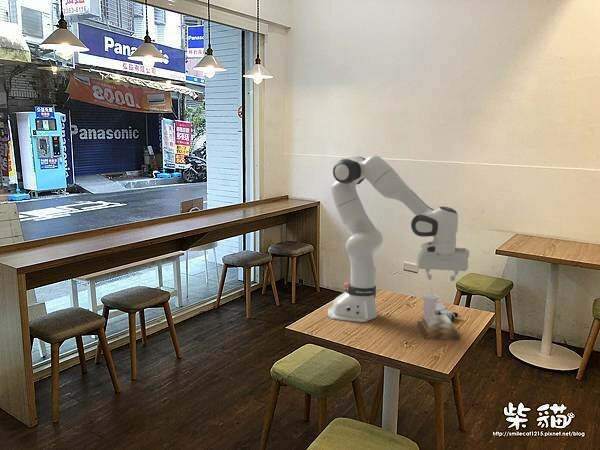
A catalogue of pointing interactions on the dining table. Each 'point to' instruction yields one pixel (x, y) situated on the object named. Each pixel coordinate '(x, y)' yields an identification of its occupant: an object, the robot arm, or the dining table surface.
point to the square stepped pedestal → (437, 328)
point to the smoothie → (429, 305)
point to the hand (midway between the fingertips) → (440, 279)
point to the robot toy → (445, 311)
